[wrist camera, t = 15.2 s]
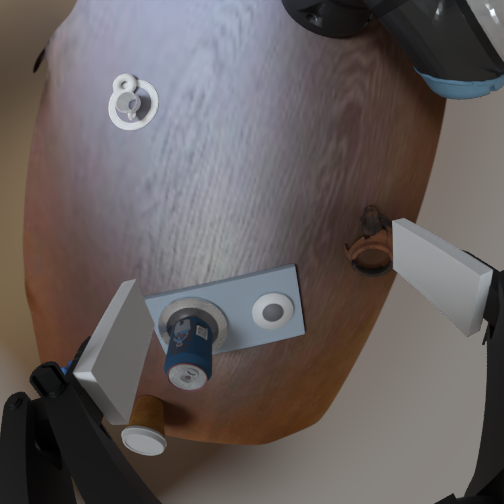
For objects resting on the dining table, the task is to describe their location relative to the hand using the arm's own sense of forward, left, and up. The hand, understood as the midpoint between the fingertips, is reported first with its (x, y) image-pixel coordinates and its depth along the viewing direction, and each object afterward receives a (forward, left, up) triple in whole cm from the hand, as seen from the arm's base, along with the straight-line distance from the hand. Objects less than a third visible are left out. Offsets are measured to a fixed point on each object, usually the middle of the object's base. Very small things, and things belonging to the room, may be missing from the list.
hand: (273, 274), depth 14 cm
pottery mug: (-19, +13, -32) cm, 40 cm away
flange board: (+7, +22, -32) cm, 39 cm away
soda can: (+13, +22, -30) cm, 39 cm away
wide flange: (+13, +22, -31) cm, 40 cm away
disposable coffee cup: (+30, +42, -32) cm, 61 cm away
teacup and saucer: (+10, -17, -32) cm, 38 cm away
